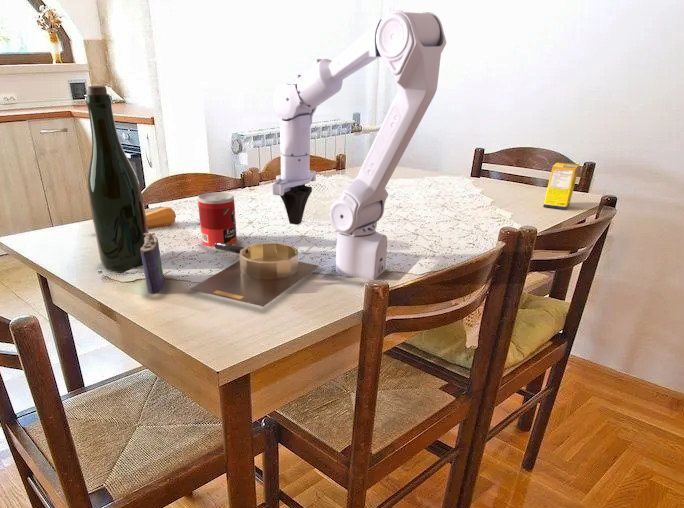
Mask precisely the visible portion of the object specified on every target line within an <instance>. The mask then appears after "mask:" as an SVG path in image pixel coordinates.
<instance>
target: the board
mask: <svg viewBox="0 0 684 508" xmlns="http://www.w3.org/2000/svg"><path fill="white" fill-rule="evenodd" d="M319 267H320V264H319V265H318V264H314V263H307V262H302V261H298V271H297V272H296V273H295V274H294V275H292V276H289V277H286V278H282V279H276V280H260V279H254V278H250V277H247V276H245V275H244V274H243V273H242V272H241V270H240V260H238V261H236V262H234V263H232V264H231V265H230V266H228V267H226V268H224V269H222V270H220V271H218V272H217V273H214V274H213V275H211V276H210V277H208V278H206V279H203V280H202V281H201V282H199V283H197V284H195V285H193V286H192V287H190V288H189V290H192V291H195V292H200V293H205V294H208V295H212V296H217V297H221V298H225V299H229V300H234V301H238V302H242V303H246V304H250V305H255V306H259V307H265V306H266V305H267V304H269V303H270V302H272V301H273V300H274V299H275V298H277V297H279V296H280V295H281V294H283V293H284V292H285V291H287V290H289V289H290V288H291V287H292V286H294V285H295V284H297V283H298V282H299V281H301V280H302V279H303V278H305V277H306V276H308V275H309V274H310V273H312V272H313V271H315V270H316V269H317V268H319Z"/></svg>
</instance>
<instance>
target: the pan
mask: <svg viewBox="0 0 684 508" xmlns="http://www.w3.org/2000/svg"><path fill="white" fill-rule="evenodd" d="M214 248H215V250H219V251H224V252H229V253H233V254H234V253H235V254H239V261H240V270H241V272H242V273H243V274H244V275H245V276H247V277H250V278H254V279H260V280H276V279H282V278H286V277H289V276H292V275H294V274H295V273H296V272H297V271H298V262H299V249H298V248H296V247H294V246H293V245H291V244H288V243H287V244H286V243H280V242H260V243H254V244H249V245H247V246H245V247H244V246H239V245H236V244H233V245H229V244H224V243H216V244H215V247H214Z"/></svg>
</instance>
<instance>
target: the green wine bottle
mask: <svg viewBox="0 0 684 508" xmlns="http://www.w3.org/2000/svg"><path fill="white" fill-rule="evenodd" d="M86 93H87V94H85V104H86V108H87V111H88V117H89V124H90V133H91V154H90V160H89V165H88V172H87V193H88V201H89V207H90V210H91V217H92V223H93V228H94V229H93V230H94V233H95V239H96V245H97V249H98V254H99V260H100V264H101V266H102V268H104V269H105V270H108V271H110V272H114V273H125V272H128V271H130V270H133V269H137V268H140V267H143V262H142V256H141V251H140V249H141V247H143V245H144V238H145V237H146V236H145V235H144V234H145V233H147V234H148V233H150V232H149V228H148V225H147V219H146V214H147V213H146V209H145V202H144V197H143V192H142V189H141V188H142V187H141V184H140V182H139V178H138V175H137V173H136V171H135V169H134V167H133V165H132V163H131V162H130V160H129V158H128V156H127V154H126V152H125V150H124V147H123V145H122V143H121V141H120V137H119V134H118V129H117V126H116V121H115V116H114V111H113V101H112V98H111V95H110V94H109V93H108V90H107V87H106V86H104V85H90V86H86Z"/></svg>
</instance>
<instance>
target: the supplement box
mask: <svg viewBox="0 0 684 508" xmlns="http://www.w3.org/2000/svg"><path fill="white" fill-rule="evenodd" d="M579 169H580V163H570V162H569V163H567V162H556V163H555V164H553V165H552V167H551V172H550V176H549V180H548V184H547V188H546V193H545V196H544V201H543V208H551V209H559V210H565V211H566V210H567V209H568V207H569V206H570V203H571V200H572V196H573V192H574V188H575V184H576V180H577V177H578V173H579Z"/></svg>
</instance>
